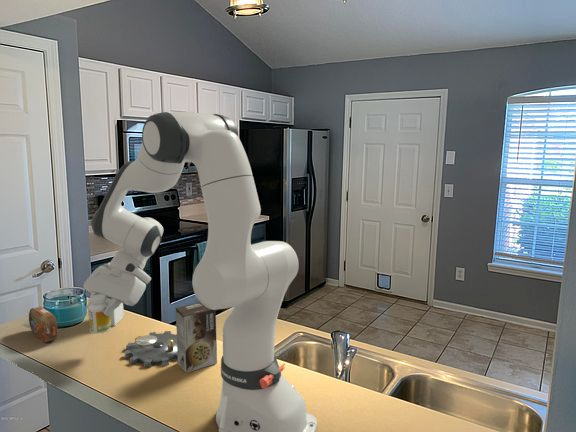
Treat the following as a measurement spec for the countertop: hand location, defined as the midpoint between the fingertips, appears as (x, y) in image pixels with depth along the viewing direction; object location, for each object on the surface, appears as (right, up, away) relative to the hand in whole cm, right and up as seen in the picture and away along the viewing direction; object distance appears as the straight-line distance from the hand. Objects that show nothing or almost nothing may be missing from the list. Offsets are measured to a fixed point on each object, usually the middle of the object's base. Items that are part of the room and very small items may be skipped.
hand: (97, 311), depth 119 cm
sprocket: (+15, -12, +5) cm, 20 cm away
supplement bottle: (0, -5, +2) cm, 6 cm away
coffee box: (+28, -14, -1) cm, 31 cm away
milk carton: (-6, -8, +23) cm, 25 cm away
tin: (-21, -10, +12) cm, 26 cm away
